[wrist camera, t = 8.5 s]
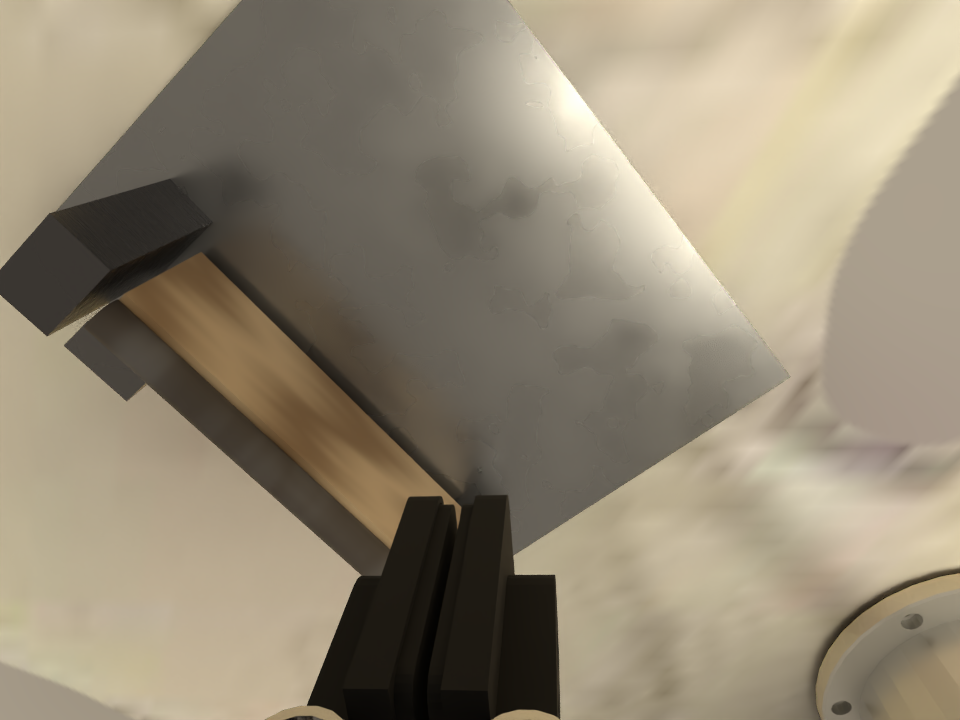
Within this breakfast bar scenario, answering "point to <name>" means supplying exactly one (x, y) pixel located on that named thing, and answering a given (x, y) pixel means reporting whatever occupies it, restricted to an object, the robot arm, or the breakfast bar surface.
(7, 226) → the breakfast bar surface
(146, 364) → the gate
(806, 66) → the breakfast bar surface
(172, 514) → the breakfast bar surface
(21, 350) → the breakfast bar surface
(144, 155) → the gate frame
